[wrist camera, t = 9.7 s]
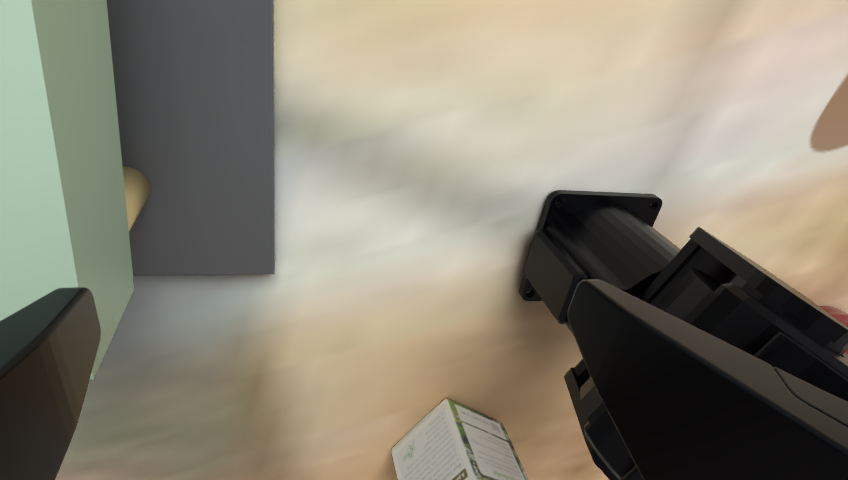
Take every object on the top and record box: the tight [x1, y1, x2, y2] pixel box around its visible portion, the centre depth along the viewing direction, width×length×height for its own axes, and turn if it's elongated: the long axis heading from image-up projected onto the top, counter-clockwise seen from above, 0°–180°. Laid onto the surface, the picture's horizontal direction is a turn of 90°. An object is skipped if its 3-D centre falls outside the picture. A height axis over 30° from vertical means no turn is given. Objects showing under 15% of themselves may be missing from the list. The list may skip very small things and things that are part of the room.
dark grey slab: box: [107, 0, 275, 275], centre depth 14 cm, size 14×18×4 cm
